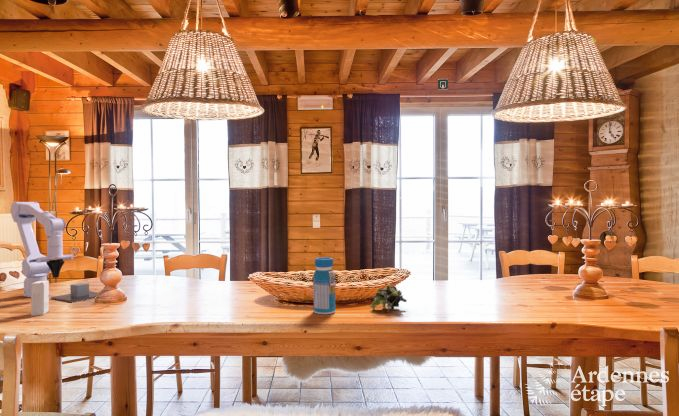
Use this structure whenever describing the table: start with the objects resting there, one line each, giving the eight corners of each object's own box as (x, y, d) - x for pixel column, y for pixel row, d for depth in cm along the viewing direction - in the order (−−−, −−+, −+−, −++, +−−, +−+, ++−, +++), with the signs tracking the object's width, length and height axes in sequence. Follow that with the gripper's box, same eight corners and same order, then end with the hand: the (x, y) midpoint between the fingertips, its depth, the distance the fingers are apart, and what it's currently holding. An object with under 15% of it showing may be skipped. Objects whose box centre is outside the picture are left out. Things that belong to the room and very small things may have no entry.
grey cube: (70, 296, 200) (70, 284, 199) (82, 293, 204) (82, 282, 204) (77, 297, 197) (77, 285, 197) (89, 294, 202) (89, 283, 201)
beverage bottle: (315, 315, 163) (315, 260, 163) (311, 310, 171) (310, 257, 171) (338, 313, 165) (337, 259, 165) (332, 308, 173) (332, 256, 173)
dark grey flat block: (51, 298, 198) (50, 289, 198) (87, 292, 212) (86, 283, 211) (72, 302, 190) (72, 292, 190) (108, 295, 204) (107, 286, 204)
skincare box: (36, 312, 173) (35, 280, 173) (49, 311, 174) (49, 280, 174) (30, 316, 167) (30, 283, 167) (44, 315, 168) (44, 282, 168)
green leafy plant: (391, 322, 173) (409, 296, 174) (389, 324, 163) (409, 297, 163) (367, 304, 176) (385, 279, 176) (364, 305, 165) (383, 278, 166)
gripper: (42, 248, 189) (42, 280, 189) (77, 245, 202) (77, 275, 202) (33, 247, 192) (33, 279, 193) (68, 244, 205) (68, 274, 205)
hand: (55, 277), depth 197 cm, fingers closed
